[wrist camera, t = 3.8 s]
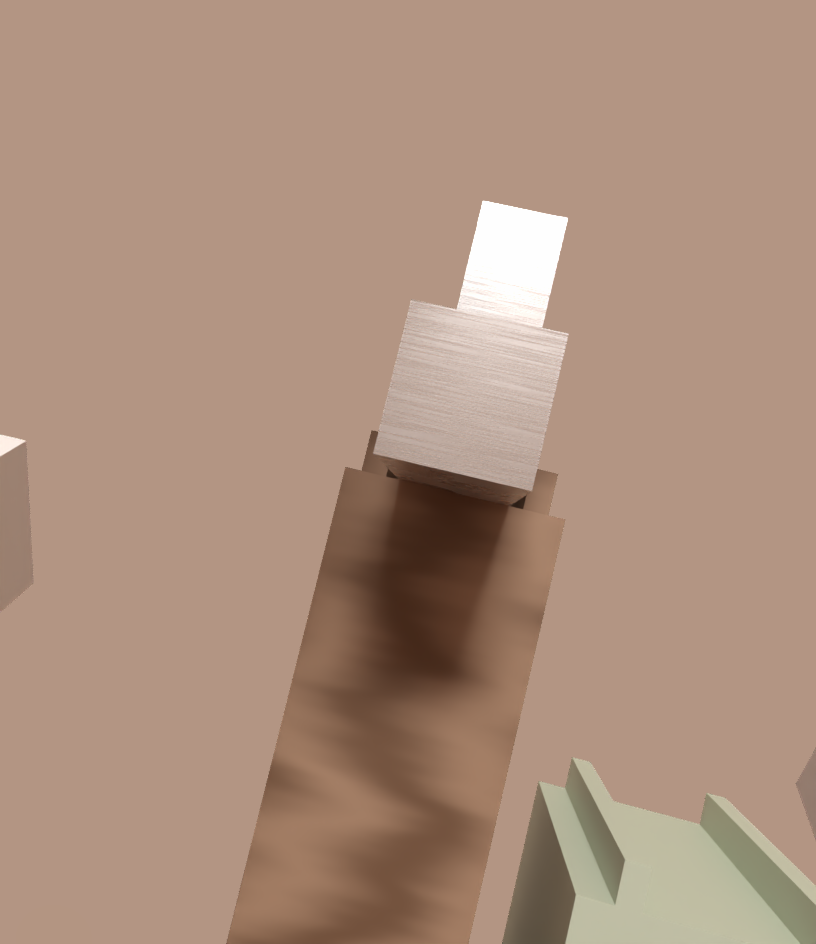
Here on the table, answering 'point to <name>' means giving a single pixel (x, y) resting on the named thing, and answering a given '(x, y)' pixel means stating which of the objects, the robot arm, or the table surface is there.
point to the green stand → (651, 875)
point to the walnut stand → (399, 716)
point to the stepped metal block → (480, 367)
